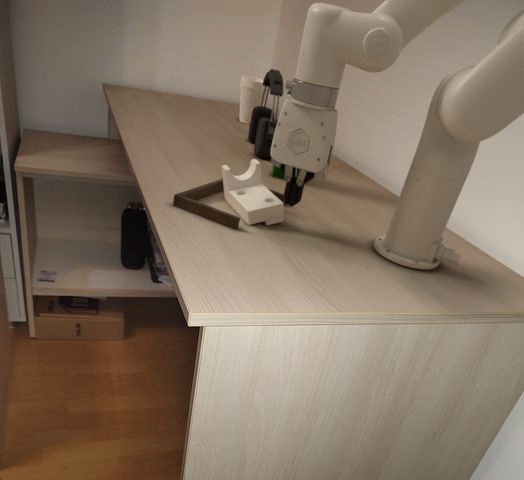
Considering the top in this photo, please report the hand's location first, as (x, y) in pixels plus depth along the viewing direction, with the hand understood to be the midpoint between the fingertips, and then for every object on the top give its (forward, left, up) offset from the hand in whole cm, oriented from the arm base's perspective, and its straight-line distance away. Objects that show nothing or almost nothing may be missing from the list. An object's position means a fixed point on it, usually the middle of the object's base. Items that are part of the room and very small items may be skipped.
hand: (290, 203), depth 91 cm
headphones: (+30, -47, -4) cm, 56 cm away
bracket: (+8, 0, -4) cm, 9 cm away
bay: (+12, 0, -4) cm, 13 cm away
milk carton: (+14, -31, -4) cm, 34 cm away
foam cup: (+50, -76, -4) cm, 91 cm away
